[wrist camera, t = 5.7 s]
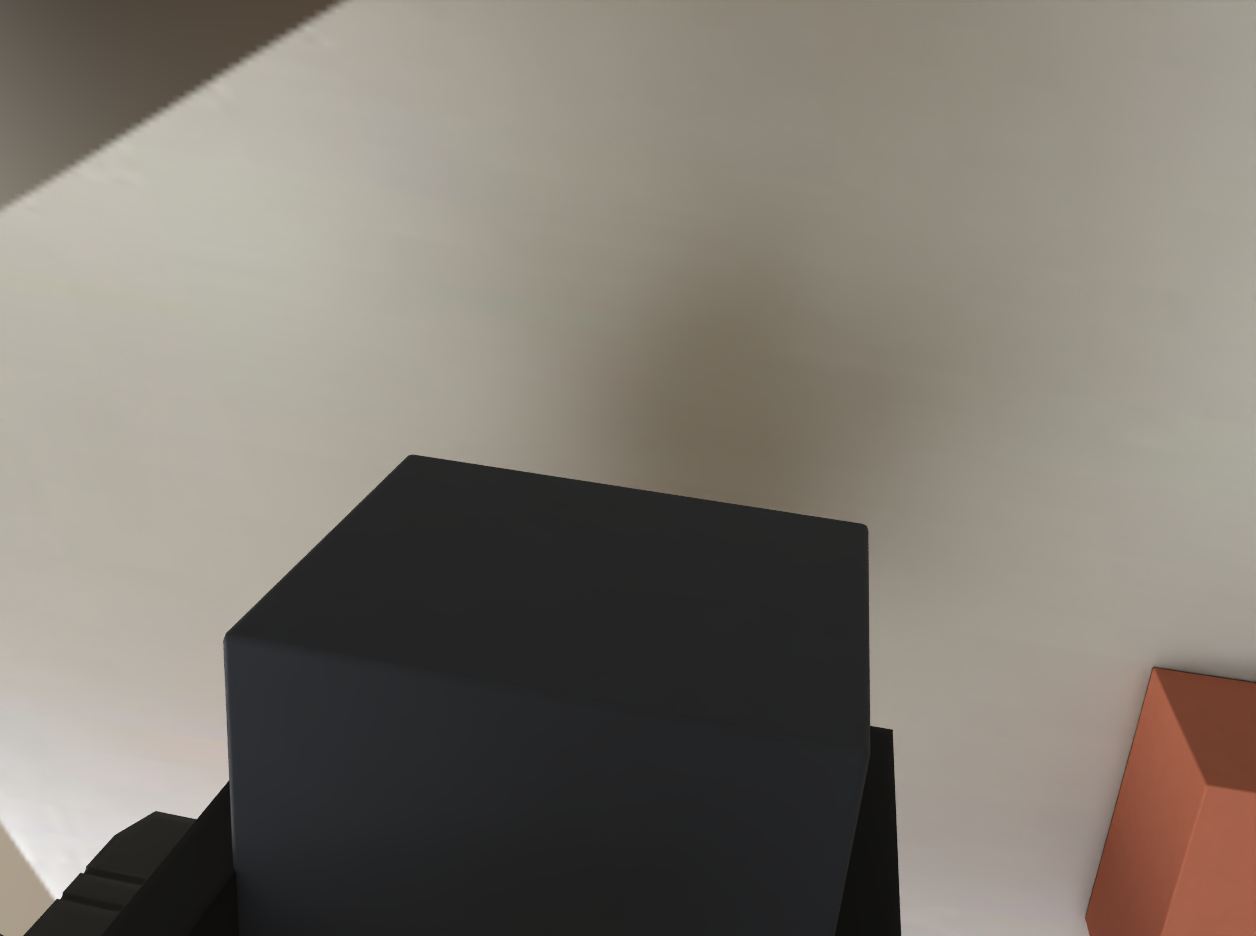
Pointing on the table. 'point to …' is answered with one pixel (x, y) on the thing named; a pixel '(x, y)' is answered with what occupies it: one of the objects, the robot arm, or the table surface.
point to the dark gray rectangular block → (551, 716)
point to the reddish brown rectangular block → (1184, 816)
